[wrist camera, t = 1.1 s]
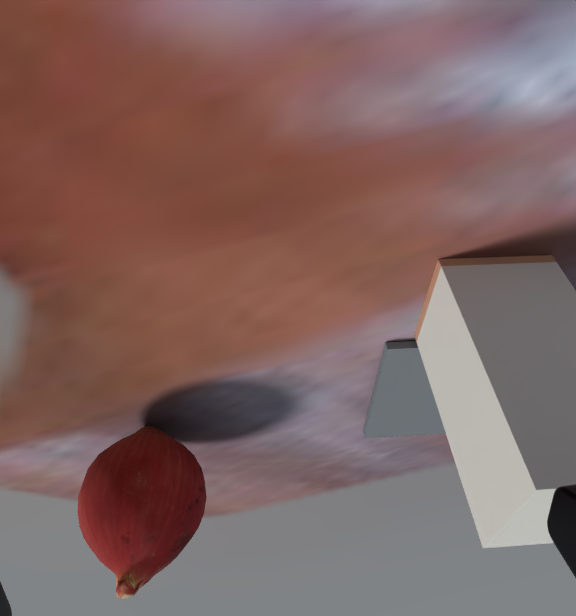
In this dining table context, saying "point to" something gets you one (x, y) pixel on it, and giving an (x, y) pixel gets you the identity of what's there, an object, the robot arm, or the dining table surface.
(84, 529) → the onion
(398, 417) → the mat
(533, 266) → the block
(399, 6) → the dining table surface
